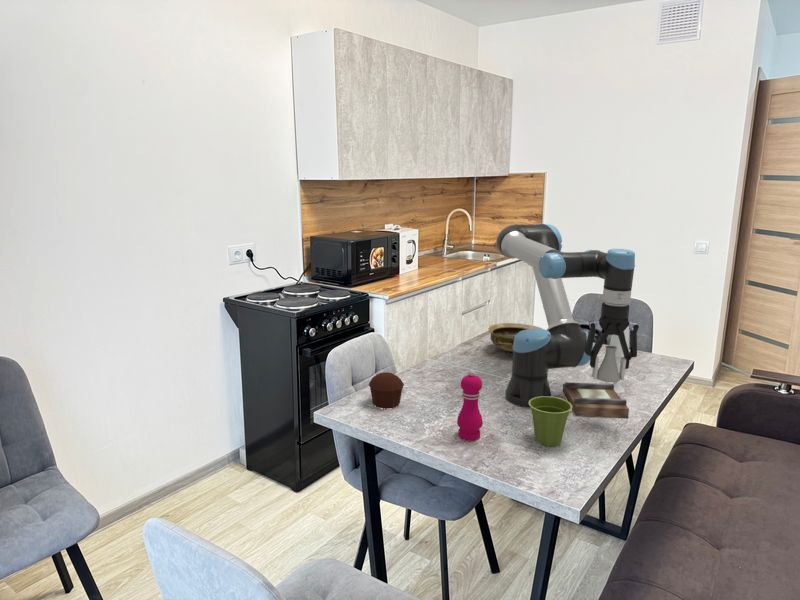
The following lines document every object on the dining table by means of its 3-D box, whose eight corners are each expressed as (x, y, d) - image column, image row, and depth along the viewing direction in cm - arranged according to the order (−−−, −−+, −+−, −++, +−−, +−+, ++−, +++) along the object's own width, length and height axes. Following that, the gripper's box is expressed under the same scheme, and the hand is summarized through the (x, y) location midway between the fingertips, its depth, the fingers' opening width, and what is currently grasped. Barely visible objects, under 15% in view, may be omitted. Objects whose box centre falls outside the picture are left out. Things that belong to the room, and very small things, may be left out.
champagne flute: (606, 384, 201) (612, 320, 196) (626, 388, 198) (633, 322, 193) (603, 390, 196) (609, 324, 190) (623, 394, 193) (630, 327, 187)
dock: (575, 415, 175) (576, 402, 174) (562, 391, 194) (563, 379, 193) (628, 418, 174) (629, 404, 173) (609, 393, 193) (610, 381, 192)
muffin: (411, 404, 182) (411, 375, 180) (385, 413, 175) (385, 383, 173) (386, 393, 191) (387, 365, 189) (361, 402, 184) (361, 373, 181)
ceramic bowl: (528, 368, 217) (530, 343, 215) (474, 356, 231) (475, 333, 229) (556, 349, 241) (557, 327, 239) (505, 339, 255) (506, 318, 253)
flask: (592, 380, 165) (596, 348, 162) (596, 372, 171) (600, 341, 169) (618, 385, 162) (622, 352, 159) (622, 377, 168) (625, 345, 165)
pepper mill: (451, 435, 161) (453, 369, 156) (467, 428, 166) (469, 364, 161) (471, 444, 156) (474, 376, 151) (486, 436, 161) (490, 370, 156)
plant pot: (544, 428, 166) (547, 392, 164) (578, 443, 157) (581, 406, 155) (517, 438, 159) (519, 401, 157) (550, 455, 150) (553, 416, 148)
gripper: (583, 305, 158) (576, 381, 163) (656, 307, 156) (646, 384, 162) (577, 299, 165) (570, 372, 171) (647, 301, 164) (638, 375, 169)
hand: (607, 378), depth 166 cm, fingers closed on flask, 7 cm apart
